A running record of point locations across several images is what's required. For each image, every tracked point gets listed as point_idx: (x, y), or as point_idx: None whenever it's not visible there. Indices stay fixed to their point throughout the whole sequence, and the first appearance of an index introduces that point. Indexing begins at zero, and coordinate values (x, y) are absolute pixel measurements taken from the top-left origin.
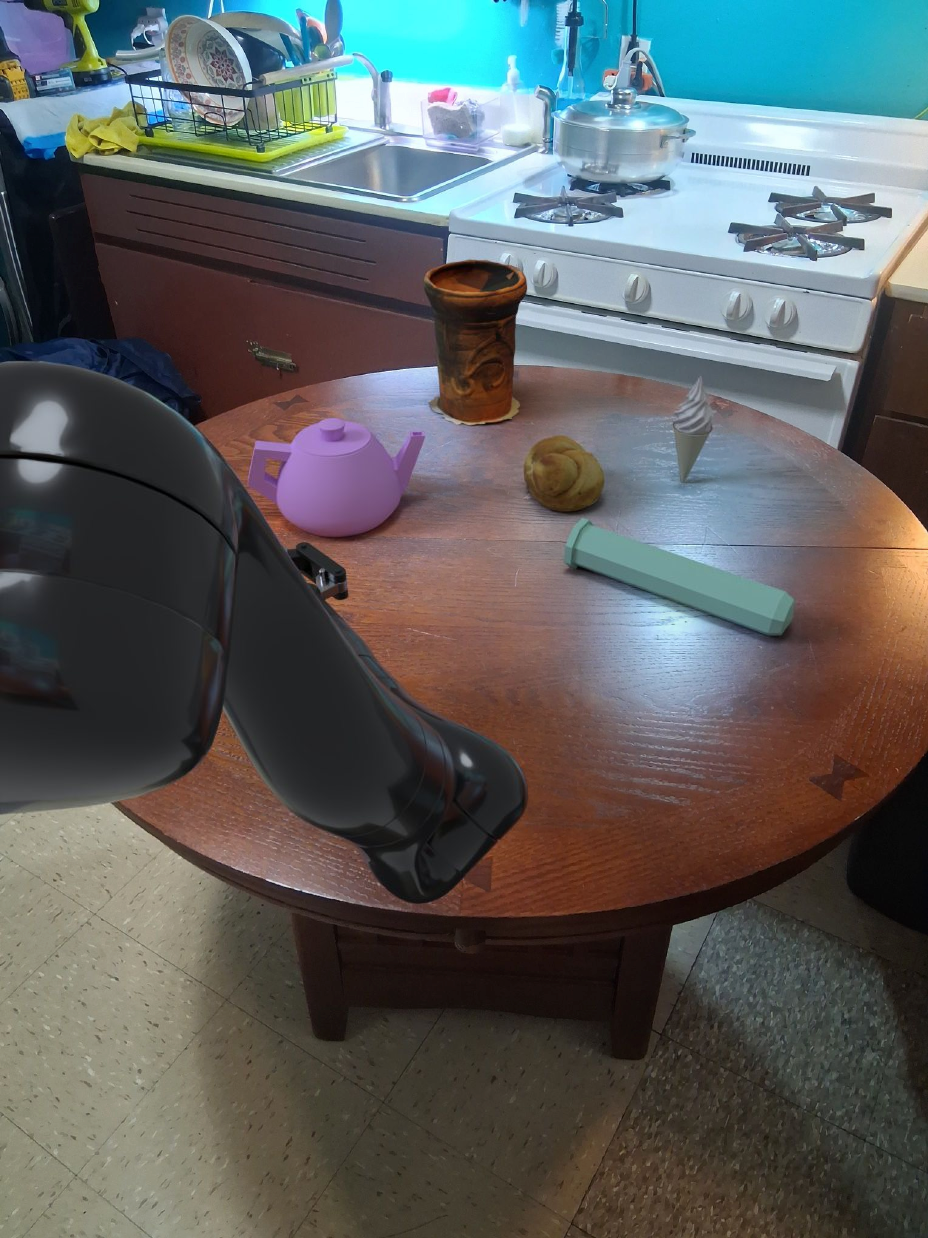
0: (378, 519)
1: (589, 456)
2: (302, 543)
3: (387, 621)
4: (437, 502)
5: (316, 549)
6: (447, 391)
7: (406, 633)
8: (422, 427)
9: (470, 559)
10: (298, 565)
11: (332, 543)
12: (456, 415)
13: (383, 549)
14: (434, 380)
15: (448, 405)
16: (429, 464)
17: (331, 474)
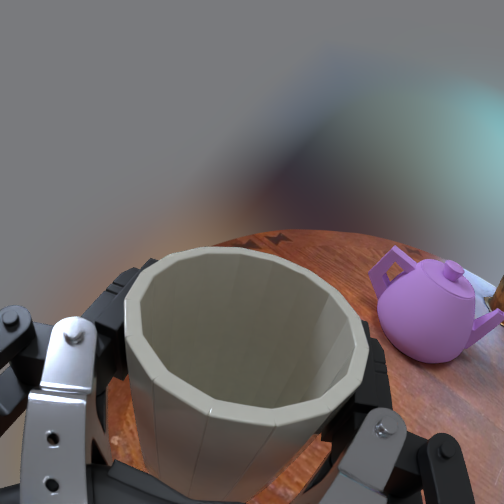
0: (441, 360)
1: None
2: (448, 442)
3: None
4: (475, 369)
5: (468, 485)
6: (501, 297)
7: None
8: (478, 309)
9: (480, 437)
10: (391, 484)
11: (397, 356)
12: None
13: (429, 387)
14: (486, 287)
15: (496, 305)
16: None
17: (436, 304)
